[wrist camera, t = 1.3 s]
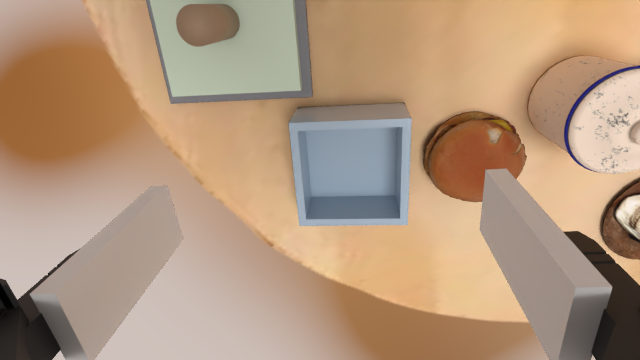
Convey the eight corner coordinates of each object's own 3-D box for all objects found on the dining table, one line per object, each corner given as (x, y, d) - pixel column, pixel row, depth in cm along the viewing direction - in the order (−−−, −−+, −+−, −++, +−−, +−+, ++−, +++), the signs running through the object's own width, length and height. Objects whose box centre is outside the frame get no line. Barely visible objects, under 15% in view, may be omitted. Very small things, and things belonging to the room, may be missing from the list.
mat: (133, -65, 35) (130, -65, 35) (299, -81, 34) (298, -83, 33) (173, 102, 42) (170, 103, 42) (312, 95, 40) (312, 97, 40)
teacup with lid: (537, 154, 41) (598, 206, 30) (513, 79, 38) (573, 108, 27) (660, 106, 38) (776, 146, 27) (645, 19, 35) (770, 27, 24)
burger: (422, 190, 44) (429, 210, 40) (424, 114, 40) (432, 126, 36) (509, 186, 43) (526, 206, 39) (520, 107, 39) (539, 120, 35)
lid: (143, -54, 35) (86, -69, 28) (288, -68, 34) (269, -88, 26) (177, 94, 41) (137, 114, 34) (302, 88, 40) (289, 107, 32)
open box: (297, 107, 41) (288, 123, 36) (404, 102, 40) (411, 118, 34) (306, 199, 46) (299, 225, 41) (401, 198, 45) (407, 224, 39)
